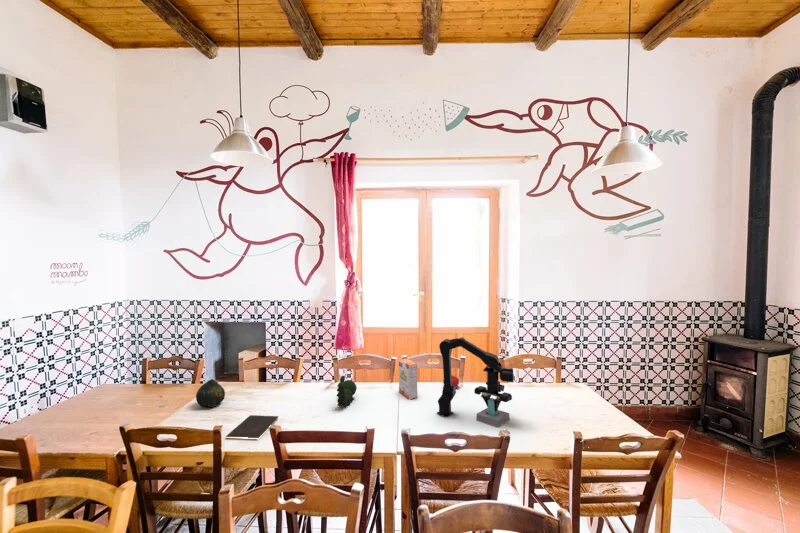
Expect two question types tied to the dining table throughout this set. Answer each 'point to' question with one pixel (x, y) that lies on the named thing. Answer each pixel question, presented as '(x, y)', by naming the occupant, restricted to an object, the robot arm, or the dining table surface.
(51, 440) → the dining table surface
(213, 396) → the squash
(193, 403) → the dining table surface
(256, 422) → the hardcover book
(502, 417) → the socket block
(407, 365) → the cracker box
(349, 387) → the toy figurine
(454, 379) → the pomegranate
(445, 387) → the robot arm
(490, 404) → the teal rectangular block
